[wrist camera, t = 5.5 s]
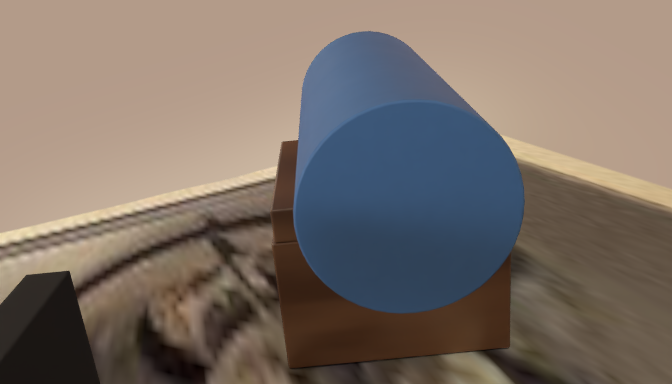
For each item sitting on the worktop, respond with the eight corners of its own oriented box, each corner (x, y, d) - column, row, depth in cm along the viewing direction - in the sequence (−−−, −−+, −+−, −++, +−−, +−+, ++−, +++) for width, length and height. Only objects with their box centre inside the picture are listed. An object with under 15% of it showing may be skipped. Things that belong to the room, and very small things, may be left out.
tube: (523, 303, 16) (527, 88, 14) (306, 324, 16) (279, 111, 14) (432, 152, 28) (428, 25, 26) (308, 164, 28) (294, 37, 26)
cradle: (510, 347, 23) (512, 187, 20) (288, 369, 23) (266, 211, 20) (461, 249, 30) (458, 124, 28) (294, 265, 30) (279, 141, 28)
